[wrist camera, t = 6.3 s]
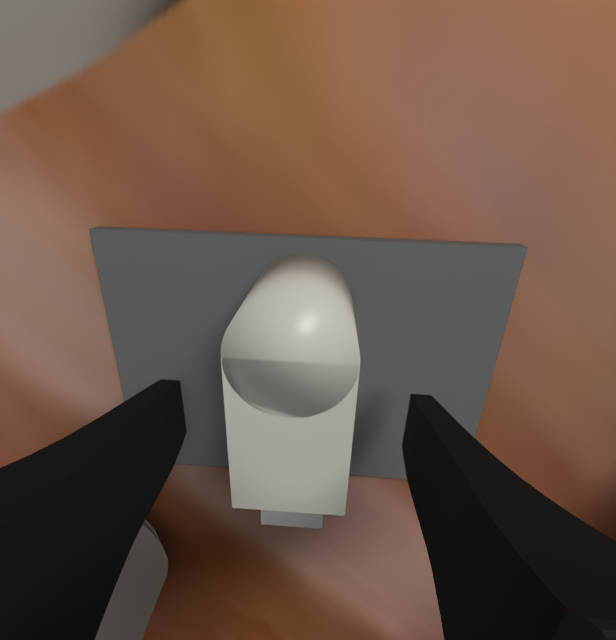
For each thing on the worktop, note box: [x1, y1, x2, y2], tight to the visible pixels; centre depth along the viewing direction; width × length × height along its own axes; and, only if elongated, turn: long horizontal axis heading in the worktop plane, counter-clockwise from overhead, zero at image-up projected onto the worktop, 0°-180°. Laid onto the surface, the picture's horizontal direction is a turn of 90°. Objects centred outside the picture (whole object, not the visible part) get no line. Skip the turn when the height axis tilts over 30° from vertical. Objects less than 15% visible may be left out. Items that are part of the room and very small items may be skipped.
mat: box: [89, 227, 527, 479], centre depth 14 cm, size 14×10×1 cm
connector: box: [221, 254, 360, 529], centre depth 12 cm, size 9×3×4 cm, turn 178°
